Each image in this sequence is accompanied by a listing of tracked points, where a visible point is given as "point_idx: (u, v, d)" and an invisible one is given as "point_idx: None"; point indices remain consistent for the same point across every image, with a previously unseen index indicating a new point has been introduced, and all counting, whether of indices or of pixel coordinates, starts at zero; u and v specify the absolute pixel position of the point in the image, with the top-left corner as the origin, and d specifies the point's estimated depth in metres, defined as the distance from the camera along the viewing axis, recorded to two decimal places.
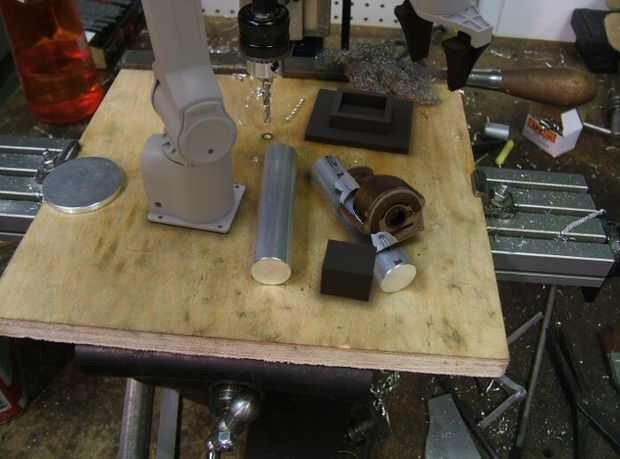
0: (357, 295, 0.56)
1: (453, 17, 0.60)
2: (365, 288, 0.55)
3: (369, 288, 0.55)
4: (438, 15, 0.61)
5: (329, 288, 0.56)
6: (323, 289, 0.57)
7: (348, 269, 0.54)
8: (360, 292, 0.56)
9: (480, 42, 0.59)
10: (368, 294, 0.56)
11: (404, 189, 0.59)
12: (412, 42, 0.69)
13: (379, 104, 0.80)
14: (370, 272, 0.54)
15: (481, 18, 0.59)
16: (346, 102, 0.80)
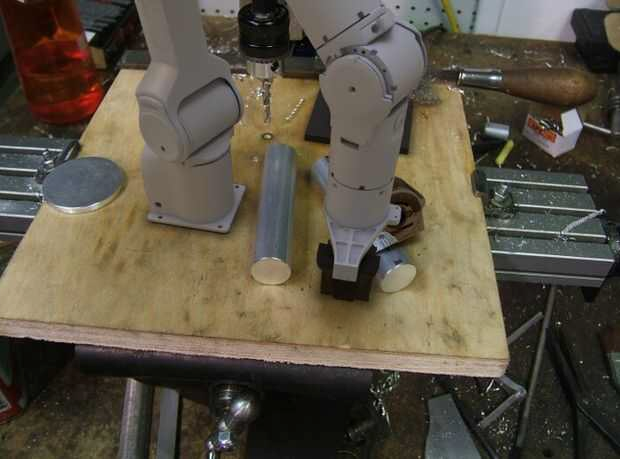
0: (357, 295, 0.56)
1: (342, 230, 0.49)
2: (365, 288, 0.55)
3: (369, 288, 0.55)
4: (330, 217, 0.50)
5: (329, 288, 0.56)
6: (323, 289, 0.57)
7: None
8: (360, 292, 0.56)
9: (338, 275, 0.47)
10: (368, 294, 0.56)
11: (404, 189, 0.59)
12: None
13: None
14: None
15: (362, 250, 0.47)
16: None
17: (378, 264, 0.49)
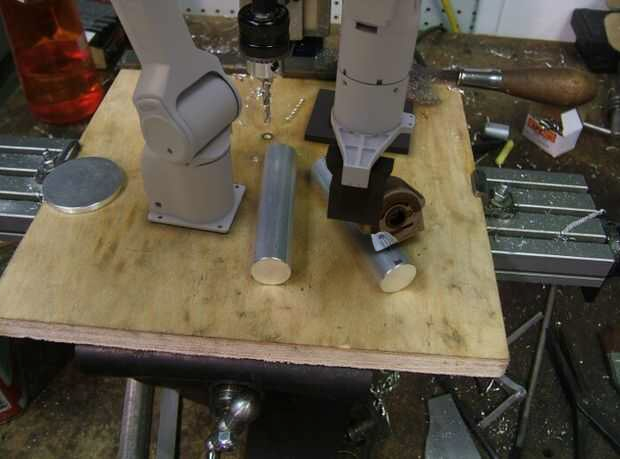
0: (367, 219, 0.52)
1: (352, 136, 0.45)
2: (375, 210, 0.51)
3: (380, 210, 0.51)
4: (339, 124, 0.46)
5: (337, 212, 0.53)
6: (330, 213, 0.53)
7: None
8: (370, 216, 0.52)
9: (348, 180, 0.43)
10: (379, 218, 0.52)
11: (404, 189, 0.59)
12: None
13: None
14: (381, 192, 0.50)
15: None
16: None
17: (392, 165, 0.46)
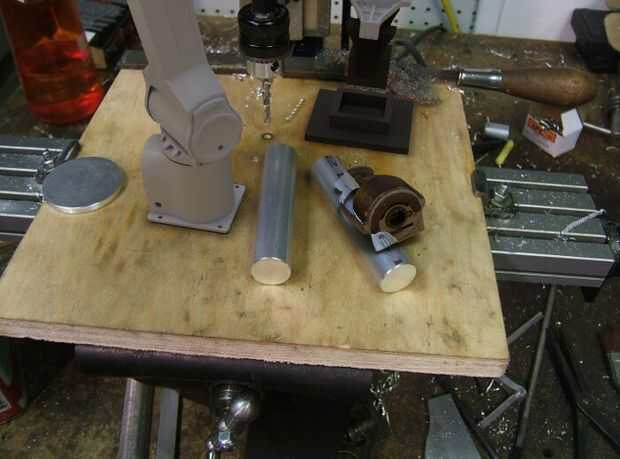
0: (377, 83, 0.70)
1: (366, 6, 0.62)
2: (383, 74, 0.69)
3: (387, 74, 0.68)
4: None
5: (354, 78, 0.70)
6: (349, 80, 0.70)
7: None
8: (379, 80, 0.69)
9: (364, 33, 0.60)
10: (386, 81, 0.69)
11: (404, 189, 0.59)
12: None
13: (379, 104, 0.80)
14: (387, 58, 0.67)
15: None
16: (346, 102, 0.80)
17: (395, 29, 0.63)
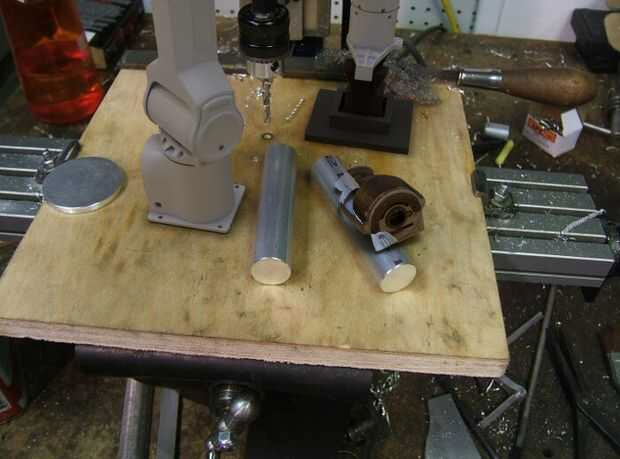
0: None
1: (361, 50, 0.68)
2: (377, 108, 0.75)
3: (380, 108, 0.75)
4: (352, 43, 0.69)
5: (350, 111, 0.76)
6: (346, 112, 0.76)
7: None
8: (373, 113, 0.76)
9: (359, 75, 0.66)
10: (379, 114, 0.76)
11: (404, 189, 0.59)
12: None
13: None
14: (381, 94, 0.74)
15: None
16: None
17: (387, 70, 0.69)
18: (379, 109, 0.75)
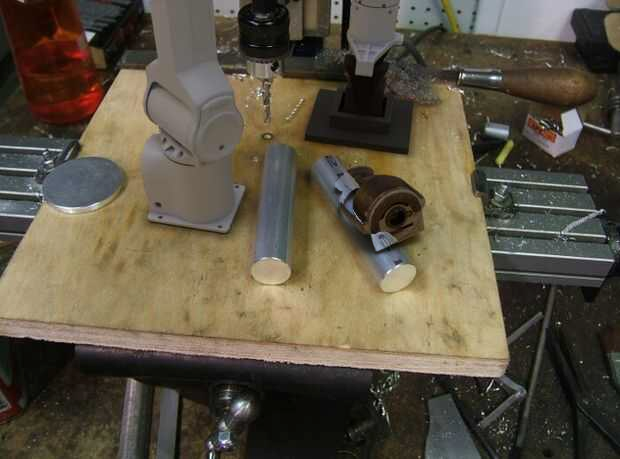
0: (371, 112, 0.76)
1: (362, 45, 0.68)
2: (377, 104, 0.75)
3: (381, 104, 0.74)
4: (353, 38, 0.69)
5: (351, 107, 0.76)
6: (346, 109, 0.76)
7: None
8: (374, 109, 0.75)
9: (359, 71, 0.66)
10: (380, 110, 0.75)
11: (404, 189, 0.59)
12: None
13: None
14: (381, 90, 0.73)
15: None
16: None
17: (388, 66, 0.69)
18: (380, 105, 0.75)
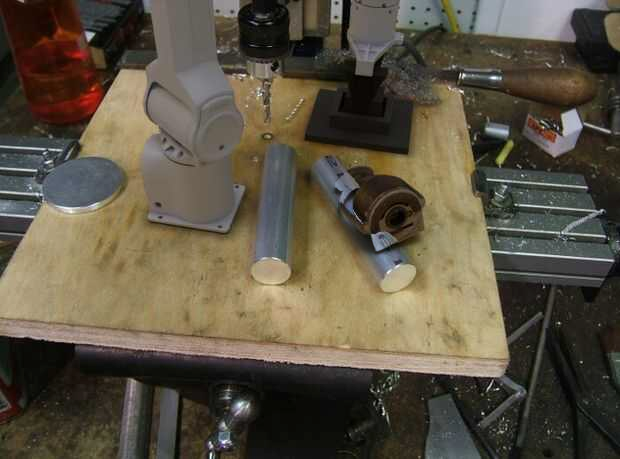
0: None
1: (362, 45, 0.68)
2: (376, 114, 0.76)
3: (379, 114, 0.75)
4: (353, 38, 0.69)
5: None
6: None
7: None
8: None
9: (359, 70, 0.66)
10: None
11: (404, 189, 0.59)
12: None
13: None
14: (380, 100, 0.74)
15: None
16: None
17: (387, 71, 0.68)
18: (378, 115, 0.76)
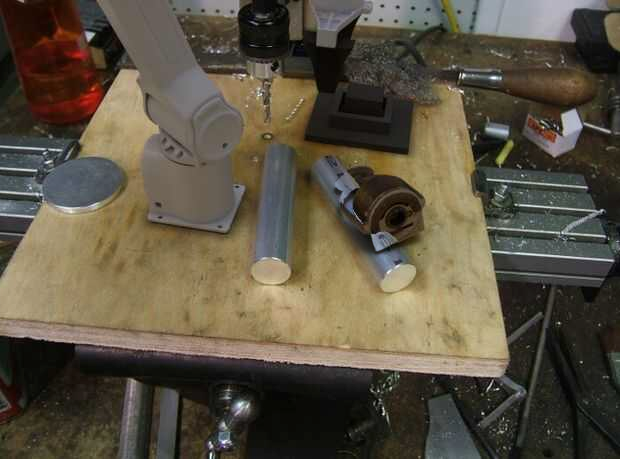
0: None
1: (325, 13, 0.61)
2: (376, 114, 0.76)
3: (379, 114, 0.75)
4: (315, 6, 0.61)
5: None
6: None
7: (364, 98, 0.75)
8: None
9: (321, 41, 0.58)
10: None
11: (404, 189, 0.59)
12: None
13: None
14: (380, 100, 0.74)
15: None
16: None
17: (353, 44, 0.60)
18: (378, 115, 0.76)
